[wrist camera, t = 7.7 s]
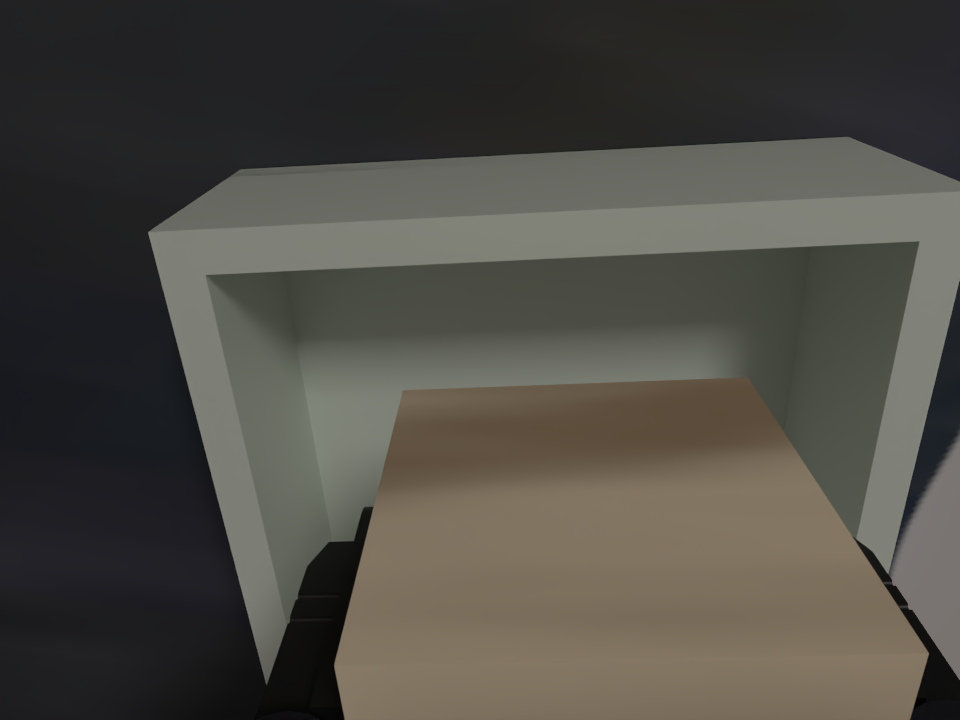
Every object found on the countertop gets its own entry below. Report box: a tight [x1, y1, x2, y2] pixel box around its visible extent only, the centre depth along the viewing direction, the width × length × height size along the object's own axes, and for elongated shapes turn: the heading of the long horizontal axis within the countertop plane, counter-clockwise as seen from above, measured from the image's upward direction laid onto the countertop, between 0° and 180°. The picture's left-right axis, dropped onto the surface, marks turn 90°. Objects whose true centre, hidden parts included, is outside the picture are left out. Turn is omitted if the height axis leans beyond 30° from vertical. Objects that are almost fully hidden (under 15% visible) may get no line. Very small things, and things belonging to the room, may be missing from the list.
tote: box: [148, 137, 960, 685], centre depth 18 cm, size 18×14×5 cm
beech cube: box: [334, 377, 929, 720], centre depth 10 cm, size 5×5×5 cm
